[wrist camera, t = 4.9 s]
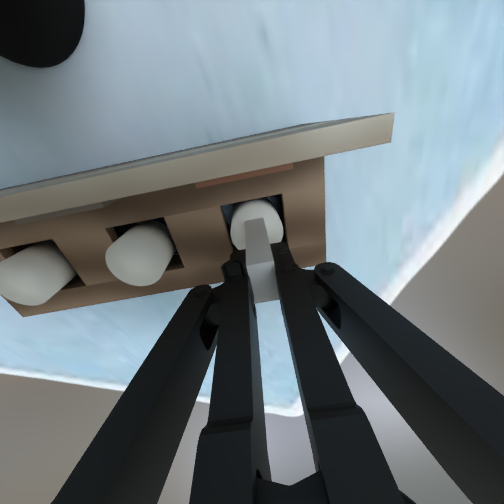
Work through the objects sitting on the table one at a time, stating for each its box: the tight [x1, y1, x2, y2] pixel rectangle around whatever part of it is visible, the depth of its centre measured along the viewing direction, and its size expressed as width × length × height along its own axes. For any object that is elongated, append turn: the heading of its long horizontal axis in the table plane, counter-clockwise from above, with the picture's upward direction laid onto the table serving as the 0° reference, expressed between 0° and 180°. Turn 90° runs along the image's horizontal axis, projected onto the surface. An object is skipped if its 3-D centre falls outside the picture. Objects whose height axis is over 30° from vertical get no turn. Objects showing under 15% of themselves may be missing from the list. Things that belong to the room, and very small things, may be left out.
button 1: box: [0, 240, 78, 306], centre depth 19 cm, size 4×4×4 cm
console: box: [0, 113, 394, 317], centre depth 18 cm, size 12×32×14 cm, turn 101°
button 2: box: [231, 197, 283, 250], centre depth 20 cm, size 4×4×4 cm
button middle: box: [105, 220, 176, 286], centre depth 19 cm, size 4×4×4 cm
